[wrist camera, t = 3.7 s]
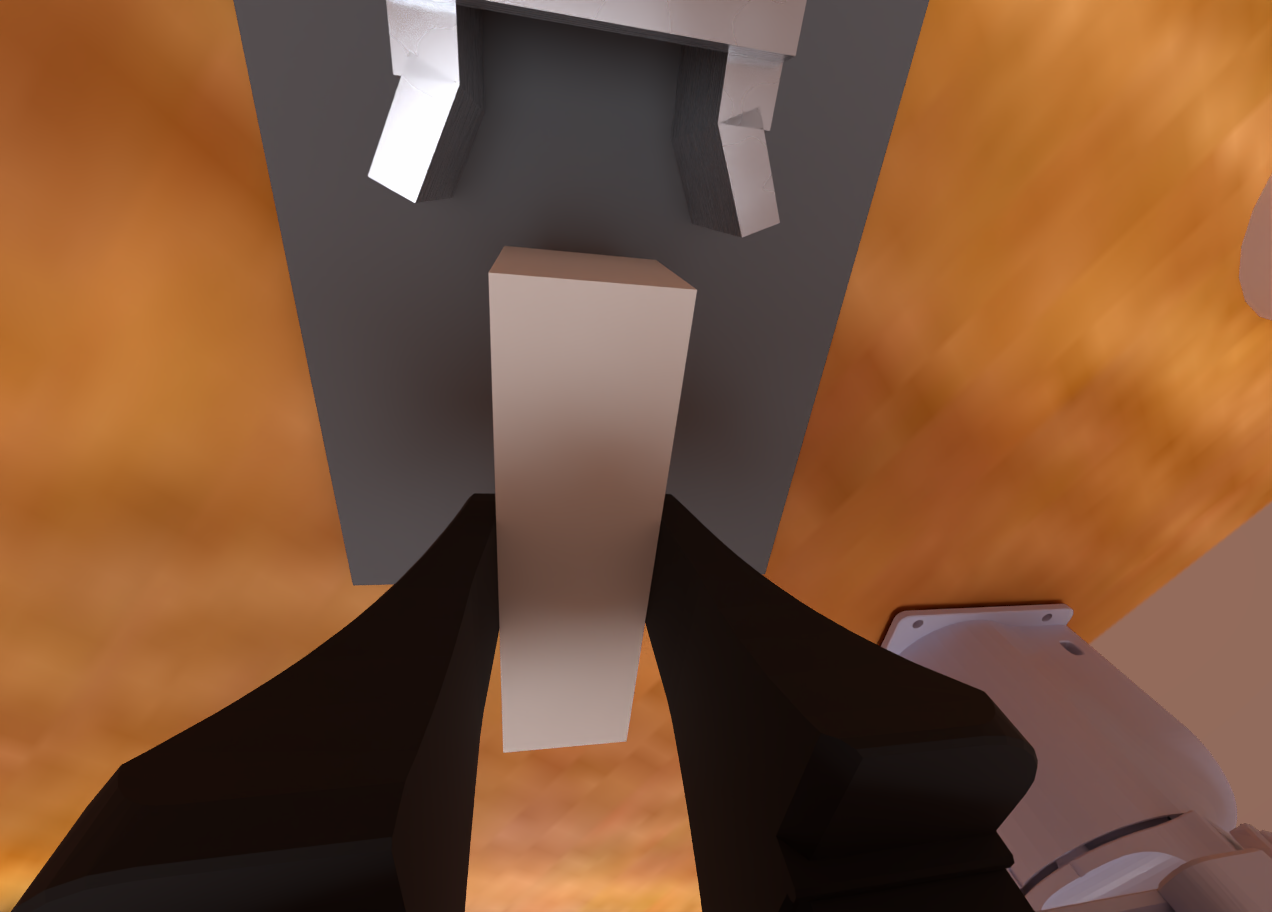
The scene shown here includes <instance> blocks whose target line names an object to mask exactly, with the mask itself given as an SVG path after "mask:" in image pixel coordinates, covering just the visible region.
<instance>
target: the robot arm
mask: <svg viewBox="0 0 1272 912" xmlns="http://www.w3.org/2000/svg"><path fill="white" fill-rule="evenodd" d="M1072 615H1073V610H1072V609H1071V608H1070V607H1069V606H1067V605H1066V604H1045V605H1022V606H1000V607H977V608H955V609H932V610H909V611H902V612H900V613H898V614H897V615H896V616H895V617H894V619H893V621H892V623H891V626H890V628H889V630H888V632H887V634H886V636H885V639H884V641H883V643H882V645H881V647H880V646H878V645H876V644H874V643H872V642H870V641H868V640H866V639H865V638H863V637H861V636H859V635H857V634H855V633H853V632H851V631H849V630H847V629H846V628H844V627H842V626H840V625H839V624H837V623H835V622H833V621H832V620H830V619H828V618H826V617H825V616H823V615H821V614H819V613H818V612H816V611H815V610H813V609H811V608H810V607H808V606H806V605H805V604H803V603H802V602H800V601H799V600H797V599H796V598H794V597H793V596H791V595H790V594H788V593H787V592H785V591H784V590H782V589H781V588H780V587H778V586H777V585H775V584H774V583H772V582H771V581H770V580H768V579H767V578H765V577H764V576H763V575H761V574H760V573H759V572H758V571H756V570H755V569H754V568H753V567H751V566H750V565H749V564H748V563H746V562H745V561H744V560H743V559H741V558H740V557H739V556H738V555H737V554H735V553H734V552H733V551H732V550H731V549H730V548H728V547H727V546H726V545H725V544H724V543H723V542H722V541H720V540H719V539H718V538H717V537H716V536H715V535H714V534H713V533H712V532H711V531H710V530H709V529H707V528H706V527H705V526H704V525H703V524H702V523H701V522H700V521H699V520H698V519H697V518H696V517H695V516H694V515H693V514H692V513H691V512H690V511H689V510H688V509H687V508H686V507H685V506H684V505H682V504H681V503H680V502H679V501H678V500H677V499H676V498H675V497H674V496H673V495H672V494H665V498H664V504H663V511H662V517H661V523H660V530H659V536H658V543H657V549H656V555H655V562H654V568H653V575H652V581H651V587H650V594H649V600H648V606H647V613H646V619H645V623H646V626H647V630H648V634H649V637H650V641H651V644H652V648H653V651H654V655H655V658H656V662H657V665H658V669H659V672H660V676H661V679H662V683H663V686H664V690H665V693H666V697H667V701H668V705H669V709H670V714H671V718H672V723H673V729H674V734H675V740H676V745H677V751H678V756H679V762H680V768H681V774H682V780H683V786H684V792H685V798H686V804H687V810H688V816H689V823H690V829H691V836H692V843H693V850H694V856H695V863H696V870H697V876H698V883H699V891H700V898H701V906H702V912H1272V832H1268V831H1264V830H1262V831H1259V830H1257V829H1256V828H1254V827H1253V826H1252V825H1250V824H1246V823H1244V824H1240V826H1238V827H1237V828H1236V821H1237V807H1236V802H1235V797H1234V794H1233V792H1232V789H1231V787H1230V785H1229V783H1228V780H1227V778H1226V776H1225V774H1224V773H1223V771H1222V769H1221V768H1220V766H1219V764H1218V763H1217V761H1216V760H1215V759H1214V757H1213V756H1212V754H1211V753H1210V752H1209V750H1208V749H1207V748H1206V747H1205V746H1204V744H1203V743H1202V742H1201V741H1200V740H1199V739H1198V738H1197V737H1196V736H1195V735H1194V734H1193V733H1192V732H1191V731H1190V730H1189V729H1188V728H1187V727H1186V726H1184V725H1183V724H1182V723H1181V722H1180V721H1179V720H1177V719H1176V718H1175V717H1174V716H1173V715H1171V714H1170V713H1169V712H1168V711H1167V710H1166V709H1164V708H1163V707H1162V706H1161V705H1160V704H1158V703H1157V702H1156V701H1155V700H1154V699H1153V698H1151V697H1150V696H1149V695H1148V694H1147V693H1145V692H1144V691H1143V690H1142V689H1141V688H1139V687H1138V686H1137V685H1136V684H1135V683H1134V682H1132V681H1131V680H1130V679H1129V678H1128V677H1127V676H1125V675H1124V674H1123V673H1122V672H1120V671H1119V670H1118V669H1117V668H1116V667H1115V666H1113V665H1112V664H1111V663H1110V662H1109V661H1108V660H1107V659H1105V658H1104V657H1103V656H1101V654H1099V653H1098V652H1097V651H1096V650H1095V649H1094V648H1092V647H1091V646H1090V645H1089V644H1088V643H1086V642H1085V641H1084V640H1083V639H1082V638H1081V637H1079V636H1078V635H1077V634H1076V633H1075V632H1073V631H1072V630H1071V629H1070V628H1069V627H1068V626H1066V625H1067V623H1068V622H1069V620H1070V619H1071V617H1072ZM498 633H499V596H498V563H497V531H496V499H495V493H474V494H473V495H472V496H470V497H469V498H468V500H467V501H466V503H465V504H464V505H463V507H462V508H461V510H460V511H459V512H458V514H457V515H456V516H455V518H454V519H453V520H452V521H451V523H450V524H449V525H448V526H447V528H446V529H445V530H444V531H443V533H442V534H441V535H440V536H439V537H438V538H437V539H436V541H435V542H434V543H433V544H432V545H431V546H430V548H429V549H428V550H427V551H426V552H425V553H424V554H423V556H422V557H421V558H420V559H419V560H418V561H417V562H416V563H415V564H414V565H413V566H412V567H411V568H410V569H409V570H408V571H407V572H406V573H405V574H404V575H403V576H402V577H401V578H400V579H399V580H398V581H397V582H396V583H395V584H394V585H393V586H392V587H391V588H390V589H389V590H388V591H387V592H386V593H385V594H383V595H382V596H381V597H380V598H379V599H378V600H377V601H376V602H375V603H373V604H372V605H371V606H370V607H369V608H368V609H366V610H365V611H364V612H363V613H362V614H361V615H359V616H358V617H357V618H356V619H355V620H353V621H352V622H351V623H350V624H348V625H347V626H346V627H344V628H343V629H342V630H341V631H339V632H338V633H337V634H335V635H334V636H333V637H331V638H330V639H328V640H327V641H326V642H324V643H323V644H322V645H320V646H319V647H318V648H316V649H315V650H314V651H312V652H311V653H309V654H308V655H307V656H305V657H304V658H303V659H301V660H300V661H298V662H297V663H295V664H294V665H292V666H291V667H289V668H288V669H286V670H285V671H283V672H282V673H280V674H279V675H277V676H275V677H274V678H272V679H271V680H269V681H268V682H266V683H265V684H263V685H261V686H260V687H258V688H257V689H255V690H253V691H252V692H250V693H248V694H247V695H245V696H244V697H242V698H240V699H239V700H237V701H236V702H234V703H232V704H230V705H229V706H227V707H225V708H224V709H222V710H220V711H219V712H217V713H215V714H213V715H212V716H210V717H208V718H206V719H204V720H203V721H201V722H199V723H197V724H195V725H194V726H192V727H190V728H188V729H186V730H185V731H183V732H181V733H179V734H177V735H176V736H174V737H172V738H170V739H168V740H167V741H165V742H163V743H161V744H159V745H158V746H156V747H154V748H152V749H150V750H149V751H147V752H145V753H143V754H141V755H139V756H137V757H136V758H134V759H132V760H130V761H128V762H126V763H124V764H122V765H121V766H120V767H119V768H118V770H117V771H116V772H115V773H114V775H113V776H112V777H111V778H110V780H109V781H108V782H107V783H106V784H105V786H104V787H103V788H102V789H101V790H100V792H99V793H98V794H97V795H96V796H95V798H94V799H93V800H92V801H91V803H90V804H89V805H88V806H87V807H86V809H85V810H84V812H83V813H82V814H81V816H80V817H79V819H78V820H77V821H76V823H75V824H74V825H73V827H72V828H71V830H70V831H69V832H68V834H67V835H66V837H65V838H64V839H63V841H62V842H61V843H60V845H59V846H58V848H57V849H56V850H55V852H54V853H53V854H52V856H51V857H50V859H49V860H48V861H47V863H46V864H45V865H44V867H43V868H42V870H41V871H40V872H39V874H38V875H37V876H36V878H35V879H34V881H33V882H32V883H31V885H30V886H29V888H28V889H27V890H26V892H25V893H24V894H23V896H22V897H21V899H20V900H19V901H18V903H17V904H16V905H15V907H14V908H13V910H12V911H11V912H465V901H466V889H467V877H468V865H469V853H470V841H471V830H472V819H473V807H474V796H475V785H476V774H477V764H478V753H479V743H480V733H481V726H482V719H483V712H484V707H485V702H486V696H487V691H488V686H489V680H490V675H491V670H492V665H493V659H494V654H495V649H496V644H497V638H498Z"/></svg>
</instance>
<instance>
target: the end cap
mask: <svg viewBox="0 0 1272 912" xmlns="http://www.w3.org/2000/svg"><path fill="white" fill-rule="evenodd" d="M806 1H807V0H386V4H387V14H388V25H389V35H390V45H391V56H392V66H393V75H394V76H396V77H397V78H399V79H400V81H399V84H398V87H397V90H396V93H395V96H394V99H393V102H392V105H391V108H390V111H389V114H388V117H387V120H386V123H385V126H384V129H383V132H382V135H381V138H380V141H379V144H378V147H377V150H376V153H375V156H374V159H373V162H372V165H371V168H370V171H369V174H368V177H370V178H372V179H373V180H375V181H377V182H379V183H380V184H382V185H384V186H386V187H387V188H389V189H391V190H393V191H395V192H396V193H398V194H400V195H402V196H403V197H405V198H407V199H409V200H410V201H412V202H414V203H420V202H427V201H434V200H442V199H449V198H452V196H453V193H454V191H455V188H456V186H457V183H458V181H459V178H460V176H461V173H462V171H463V168H464V166H465V163H466V161H467V158H468V156H469V153H470V151H471V148H472V146H473V143H474V141H475V138H476V136H477V133H478V131H479V128H480V126H481V123H482V120H483V118H484V115H485V95H484V61H483V27H482V9H483V10H489V11H494V12H500V13H506V14H511V15H517V16H523V17H528V18H534V19H540V20H545V21H551V22H556V23H562V24H568V25H573V26H579V27H585V28H590V29H596V30H602V31H607V32H613V33H619V34H624V35H630V36H635V37H641V38H647V39H652V40H658V41H664V42H669V43H675V44H681V45H682V46H681V54H680V63H679V72H678V81H677V89H676V98H675V107H674V115H673V124H672V133H671V143H672V147H673V151H674V155H675V159H676V163H677V167H678V171H679V175H680V178H681V182H682V186H683V190H684V194H685V198H686V202H687V206H688V210H689V214H690V217H691V221H692V224H693V225H697V226H701V227H704V228H708V229H712V230H715V231H719V232H723V233H727V234H730V235H734V236H738V237H741V238H742V237H745V236H748V235H750V234H753V233H755V232H758V231H760V230H763V229H765V228H768V227H771V226H773V225H776V224H778V223H780V220H779V214H778V208H777V203H776V197H775V191H774V185H773V179H772V174H771V168H770V162H769V156H768V150H767V145H766V139H765V133H764V132H767V131H770V128H771V123H772V118H773V112H774V107H775V102H776V97H777V92H778V86H779V81H780V76H781V71H782V66H783V62H785V61H787V60H789V59H791V58H793V57H795V56H796V51H797V46H798V41H799V36H800V31H801V26H802V21H803V16H804V11H805V6H806Z"/></svg>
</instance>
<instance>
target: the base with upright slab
mask: <svg viewBox="0 0 1272 912" xmlns="http://www.w3.org/2000/svg"><path fill="white" fill-rule="evenodd" d="M1239 280H1240V283H1241V287H1242V291H1243V295H1244V298H1245V301H1246V303H1247V304H1248V305H1249V306H1250V307H1251V308H1252V309H1253V310H1254V311H1255V312H1256V313H1257V315H1258V316H1259V317H1263V318H1266V319H1269V320H1272V174H1271V176H1270V178H1269V180H1268V182H1267V184H1266V186H1265V187H1264V189H1263V191H1262V193H1261V195H1260V197H1259V199H1258V201H1257V203H1256V205H1255V207H1254V209H1253V212H1252V215H1251V218H1250V221H1249V224H1248V227H1247V231H1246V234H1245V237H1244V240H1243V243H1242V246H1241V258H1240V271H1239Z"/></svg>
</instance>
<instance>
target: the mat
mask: <svg viewBox="0 0 1272 912" xmlns="http://www.w3.org/2000/svg"><path fill="white" fill-rule="evenodd" d="M233 1H234V6H235V10H236V15H237V20H238V25H239V30H240V35H241V40H242V45H243V50H244V54H245V59H246V64H247V69H248V74H249V79H250V84H251V89H252V94H253V98H254V103H255V108H256V113H257V118H258V123H259V128H260V133H261V138H262V142H263V147H264V152H265V157H266V162H267V167H268V172H269V177H270V182H271V186H272V191H273V196H274V201H275V206H276V211H277V216H278V221H279V226H280V230H281V235H282V240H283V245H284V250H285V255H286V260H287V265H288V270H289V274H290V279H291V284H292V289H293V294H294V299H295V304H296V309H297V314H298V318H299V323H300V328H301V333H302V338H303V343H304V348H305V353H306V358H307V362H308V367H309V372H310V377H311V382H312V387H313V392H314V397H315V402H316V406H317V411H318V416H319V421H320V426H321V431H322V436H323V441H324V446H325V450H326V455H327V460H328V465H329V470H330V475H331V480H332V485H333V490H334V494H335V499H336V504H337V509H338V514H339V519H340V524H341V529H342V534H343V538H344V543H345V548H346V553H347V558H348V563H349V568H350V573H351V578H352V582H353V585H384V584H395V583H396V582H397V581H398V580H399V579H400V578H401V577H402V576H403V575H404V574H405V573H406V572H407V571H408V570H409V569H410V568H411V567H412V566H413V565H414V564H415V563H416V562H417V561H418V560H419V559H420V558H421V557H422V556H423V554H424V553H425V552H426V551H427V550H428V549H429V548H430V546H431V545H432V544H433V543H434V542H435V541H436V539H437V538H438V537H439V536H440V535H441V534H442V533H443V531H444V530H445V529H446V528H447V526H448V525H449V524H450V523H451V521H452V520H453V519H454V518H455V516H456V515H457V514H458V512H459V511H460V510H461V508H462V507H463V505H464V504H465V503H466V501H467V500H468V498H469V497H470V496H472V495H473V494H474V493H495V467H494V435H493V403H492V370H491V338H490V306H489V274H488V272H489V271H490V269H491V267H492V266H493V264H494V262H495V261H496V259H497V257H498V256H499V254H500V252H501V251H502V249H503V247H504V246H512V247H523V248H534V249H544V250H555V251H566V252H577V253H587V254H598V255H609V256H619V257H630V258H641V259H652V260H657V261H658V262H659V263H661V264H662V265H664V266H665V267H666V268H668V269H669V270H670V271H672V272H673V273H675V274H676V275H677V276H679V277H680V278H681V279H683V280H684V281H686V282H687V283H688V284H690V285H691V286H692V287H694V288H695V289H697V294H696V300H695V307H694V313H693V319H692V326H691V332H690V338H689V345H688V351H687V358H686V364H685V370H684V377H683V383H682V389H681V396H680V402H679V409H678V415H677V421H676V428H675V434H674V441H673V447H672V453H671V460H670V466H669V472H668V479H667V485H666V492H665V494H672V495H673V496H674V497H675V498H676V499H677V500H678V501H679V502H680V503H681V504H682V505H684V506H685V507H686V508H687V509H688V510H689V511H690V512H691V513H692V514H693V515H694V516H695V517H696V518H697V519H698V520H699V521H700V522H701V523H702V524H703V525H704V526H705V527H706V528H707V529H709V530H710V531H711V532H712V533H713V534H714V535H715V536H716V537H717V538H718V539H719V540H720V541H722V542H723V543H724V544H725V545H726V546H727V547H728V548H730V549H731V550H732V551H733V552H734V553H735V554H737V555H738V556H739V557H740V558H741V559H743V560H744V561H745V562H746V563H748V564H749V565H750V566H751V567H753V568H754V569H755V570H756V571H758V572H759V573H760V574H765V572H766V568H767V565H768V561H769V558H770V554H771V551H772V547H773V544H774V540H775V537H776V533H777V530H778V526H779V523H780V519H781V516H782V512H783V509H784V505H785V502H786V498H787V495H788V491H789V488H790V484H791V481H792V477H793V474H794V470H795V467H796V463H797V460H798V456H799V453H800V450H801V446H802V443H803V439H804V436H805V432H806V429H807V425H808V422H809V418H810V415H811V411H812V408H813V404H814V401H815V397H816V394H817V390H818V387H819V383H820V380H821V376H822V373H823V369H824V366H825V362H826V359H827V355H828V352H829V348H830V345H831V341H832V338H833V334H834V331H835V327H836V324H837V320H838V317H839V313H840V310H841V306H842V303H843V299H844V296H845V292H846V289H847V285H848V282H849V278H850V275H851V271H852V268H853V264H854V261H855V257H856V254H857V250H858V247H859V243H860V240H861V236H862V233H863V229H864V226H865V222H866V219H867V215H868V212H869V208H870V205H871V201H872V198H873V195H874V191H875V188H876V184H877V181H878V177H879V174H880V170H881V167H882V163H883V160H884V156H885V153H886V149H887V146H888V142H889V139H890V135H891V132H892V128H893V125H894V121H895V118H896V114H897V111H898V107H899V104H900V100H901V97H902V93H903V90H904V86H905V83H906V79H907V76H908V72H909V69H910V65H911V62H912V58H913V55H914V51H915V48H916V44H917V41H918V37H919V34H920V30H921V27H922V23H923V20H924V16H925V13H926V9H927V6H928V2H929V0H807V1H806V6H805V11H804V16H803V21H802V26H801V31H800V36H799V41H798V46H797V51H796V56H795V57H793V58H791V59H789V60H787V61H785V62H783V66H782V71H781V76H780V81H779V86H778V92H777V97H776V102H775V107H774V112H773V118H772V123H771V128H770V131H767V132H764V133H765V139H766V145H767V150H768V156H769V162H770V168H771V174H772V179H773V185H774V191H775V197H776V203H777V208H778V214H779V220H780V223H778V224H776V225H773V226H771V227H768V228H765V229H763V230H760V231H758V232H755V233H753V234H750V235H748V236H745V237H742V238H741V237H738V236H734V235H730V234H727V233H723V232H719V231H715V230H712V229H708V228H704V227H701V226H697V225H693V224H692V221H691V217H690V214H689V210H688V206H687V202H686V198H685V194H684V190H683V186H682V182H681V178H680V175H679V171H678V167H677V163H676V159H675V155H674V151H673V147H672V143H671V133H672V124H673V115H674V107H675V98H676V89H677V81H678V72H679V63H680V54H681V46H682V45H681V44H675V43H669V42H664V41H658V40H652V39H647V38H641V37H635V36H630V35H624V34H619V33H613V32H607V31H602V30H596V29H590V28H585V27H579V26H573V25H568V24H562V23H556V22H551V21H545V20H540V19H534V18H528V17H523V16H517V15H511V14H506V13H500V12H494V11H489V10H483V9H482V27H483V61H484V95H485V115H484V118H483V120H482V123H481V126H480V128H479V131H478V133H477V136H476V138H475V141H474V143H473V146H472V148H471V151H470V153H469V156H468V158H467V161H466V163H465V166H464V168H463V171H462V173H461V176H460V178H459V181H458V183H457V186H456V188H455V191H454V193H453V196H452V198H449V199H442V200H434V201H427V202H420V203H414V202H412V201H410V200H409V199H407V198H405V197H403V196H402V195H400V194H398V193H396V192H395V191H393V190H391V189H389V188H387V187H386V186H384V185H382V184H380V183H379V182H377V181H375V180H373V179H372V178H370V177H368V174H369V171H370V168H371V165H372V162H373V159H374V156H375V153H376V150H377V147H378V144H379V141H380V138H381V135H382V132H383V129H384V126H385V123H386V120H387V117H388V114H389V111H390V108H391V105H392V102H393V99H394V96H395V93H396V90H397V87H398V84H399V81H400V79H399V78H397V77H396V76H394V75H393V66H392V56H391V45H390V35H389V25H388V14H387V4H386V0H233Z"/></svg>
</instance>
